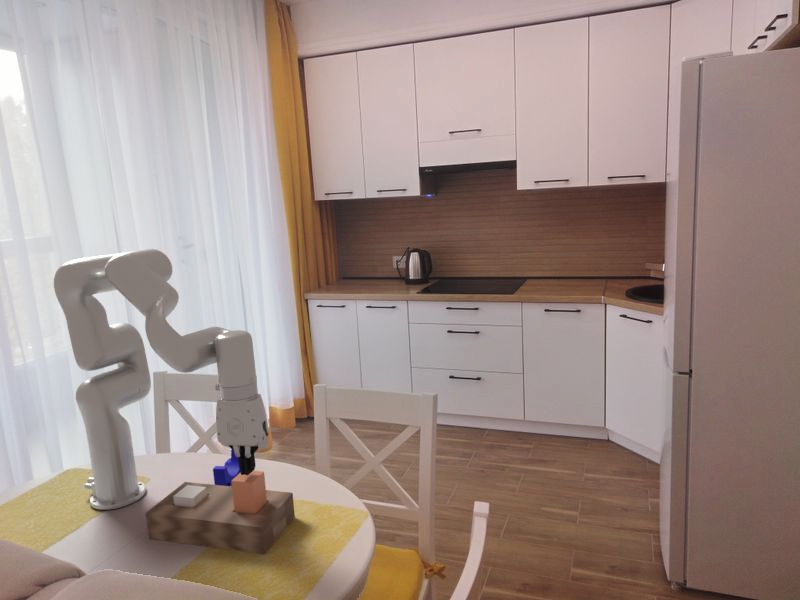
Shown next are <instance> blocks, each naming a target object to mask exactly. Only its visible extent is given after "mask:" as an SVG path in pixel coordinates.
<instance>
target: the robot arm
mask: <svg viewBox="0 0 800 600" xmlns="http://www.w3.org/2000/svg"><path fill="white" fill-rule="evenodd" d="M172 275H173V265H172V261H171V260H170V259H169V257H168V256H167V255H166V254H165V253H164V252H162V251H161V250H158V249H154V248H148V249H147V248H146V249H139V250H132V251H125V252H120V253H119V252H118V253H112V254H105V255H97V256H90V257H89V256H88V257H82V258H77V259H72V260H70V261H67V262H65V263H63V264H62V265H60V266H59V267H58V269H57V270H56V271H55V274H54V278H53V289H54V293H55V297H56V298H57V301H58V303H59V305H60V307H61V309H62V311H63V314H64V316H65V320H66V324H67V330H68V335H69V338H70V345H71V347H72V348H71V349H72V352H73V356H74V360H75V363H76V365H77V366H78V368H79V369H80V370H83V371H85V372H92V371H98V370H101V369H104V368H108V367H110V366H114V365H117V368H115V369H112V370H108V371H105V372H103V373H100V374H96V375H94V376H91V377H89V378H86V379H85V380H84V381H83V382H81V383H80V384H79V386H78V387H77V388H76V391H75V402H76V404H77V408H78V410H79V412H80V415H81V417H82V421H83V424H84V428H85V434H86V439H87V444H88V450H89V451H88V452H89V457H90V458H89V459H90V463H91V469H92V475H93V476H90V477H88V478H87V482H86V483H85V484H84V489H86V490H91V491H92V495H91V496H90V498H89V504H90V505H89V506H91V507H92V508H93V509H96V510H103V511H104V510H106V511H107V510H114V509H115V510H116V509H120V508H122V507H126V506H129V505H131V504H133V503H135V502H137V501H139V500H140V499H141V498H142V497H143V496H144V495H145V494H146V491H147V488H146V485H145V483H143V482H142V481H139V480H138V475H137V466H136V459H135V453H134V446H133V439H132V438H133V437H132V433H131V432H132V431H131V427H130V424H129V422H128V420H127V419H126V418H125V417H124V416H123V415H122V414H121V413H120V410H121V409H123V408H125V407H127V406H129V405H132V404H134V403H137V402H139V401H141V400H144V399H145V398H146V397H147V396H148V395H149V394H150V391H151V388H152V380H151V374H150V369H149V364H148V359H147V354H146V349H145V344H144V341H143V338H142V336H141V333H140V332H139V330H138V329H137V328H136V327H135V326H134V325H132V324H130V323H127V322H117V323H114V324H110V323H109V320H108V317H107V316H108V315H107V311H106V309H105V307H104V305H103V304H102V303H101V302H100V301H99V300H98V299H97V298H96V297H95V296H94V295H96V294H101V293H108V292H113V291H118V292H119V293H120V294H121V295H122V296H123V297H124V298H125V300H127V301H128V302H129V303H130V304H131V305H132V306H134V307H135V308H136V310H137V311H139V312H140V314H142V315H143V316H144V317H145V319H144V320H145V323H144V328H145V334H146V338H147V340H148V343H149V345H150V347H151V348H152V350H153V352H154V353H156V354H157V356H158V357H159V358H160V359H161V360H162V361H163V362H164V363H166V364H167V366H169V367H170V368H172V369H173V370H174V371H176V372H179V373H184V374H188V373H193V372H195V371H197V370H200V369H203V368H205V367H207V366H210V365H214V364H216V368H217V376H218V377H217V378H218V384H217V383H216V384H215V388H214V389H215V391H219V395H220V396H218V397H217V399H216V406H215V407H216V408H215V430H216V439H217V441H218V443H220V444H221V445H222V446H224V447H226V448H230V449H231V450H233V451H234V452H235V456H236V457H238V461H239V468H240V472H241V475H244V474H245V475H249V474H250V473H251V472H252V471H255V469H256V458H255V457H256V456H255V453H256V452H257V451H258V450H263V449H266V448H268V446H270V443H269V439H268V437H269V434H270V433H269V424H268V423H269V422H268V418H267V412H266V408H265V404H264V400H263V398H262V396H261V393H259V392H258V391H259V390H258V382H257V381H258V380H257V371H256V361H255V354H254V345H253V342H254V341H253V337H252V334H251V333H250V332H249V331H246V330H230V329H227V328H223V327H219V326H210V327H207V328H205V329H204V328H203V329H200V330H197V331H193V332H191V333H187V334H184V335H181V334H180V333H178V332H177V331H176V330H175V329H174V328H173V327H172V326H171V325H170V324H169V322H168V321H167V317H168V316H169V315H171V313H173V311H174V310H175V308H176V306H178V305H177V304H178V302H179V300H180V299H179V298H180V297H179V295H180V294H179V293H178V291H177V290H176V288H175V287H173V286H172V285H171V284H170V283H169V280H170V279H171V278H172Z"/></svg>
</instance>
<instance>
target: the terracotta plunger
mask: <svg viewBox="0 0 800 600" xmlns="http://www.w3.org/2000/svg"><path fill="white" fill-rule="evenodd" d="M231 483H232V485H231V487H232V492H233V501H234V510H235V512H237V513H246V514H255V515H256V514H257V513H258V512H259V511H260V510H261V509H262V508H263V507H264V506H265V505H266V504H267V497H266V490H267V489H266V478H265V471H259V470H254V471H252V472H251V473H250V474H249V475H245V474H244V475H241V473H239V474H238V475H237V476H236V477H235V478H234V479H233V480H232V481H231Z"/></svg>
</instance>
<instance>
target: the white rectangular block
mask: <svg viewBox="0 0 800 600" xmlns="http://www.w3.org/2000/svg"><path fill="white" fill-rule="evenodd" d="M173 497H174V505H176V506H185V507H194V508H195V507H196V506H197V505H198V504H199V503H200V502H201V501H203V500H204V499H205V498H206V497H207V489H206V487H201V486H191V485H187V486H185V487H184V488H183V489H182V490H180V491H179V492H178V493H177V494H175V495H174V496H173Z"/></svg>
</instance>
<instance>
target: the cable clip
mask: <svg viewBox="0 0 800 600" xmlns="http://www.w3.org/2000/svg"><path fill="white" fill-rule="evenodd" d="M212 472H213V474H212V475H213V482H214V485H221V486H231V487H232V483H231V481H232V480H233V479H234V478H235V477H236V476H237V475H238V474H239V473H241V472H240V468H239V461H238V457H236V456H235V452H234V451H233V450H232V449H231V450H230V458H228V459H227V460H226V461H225V462H224V466H223V465H215V466H214V467H213V468H212Z"/></svg>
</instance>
